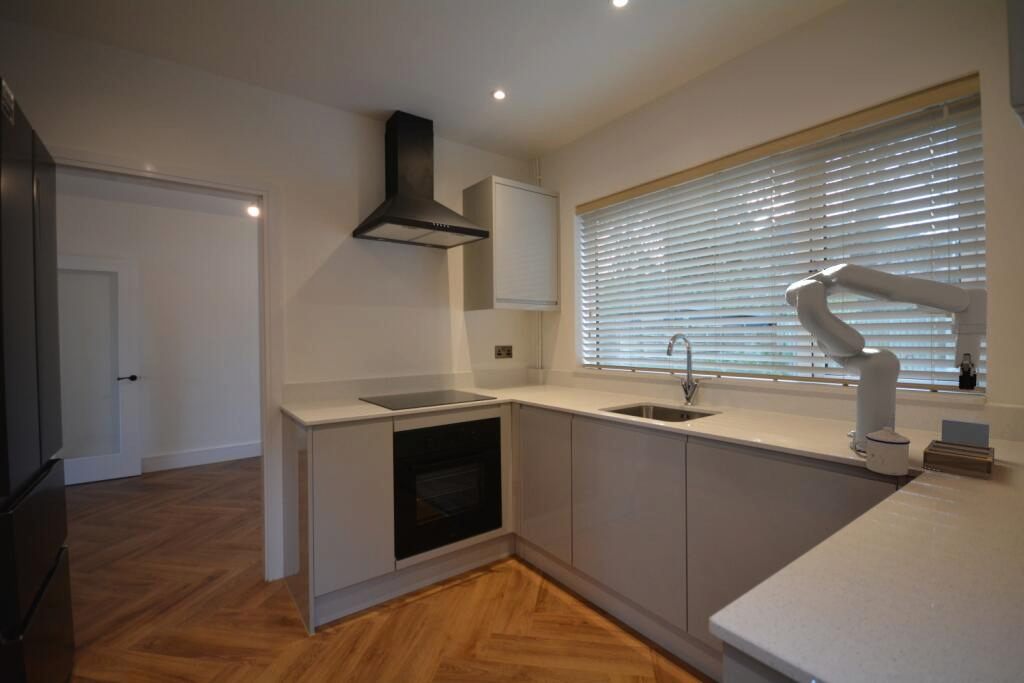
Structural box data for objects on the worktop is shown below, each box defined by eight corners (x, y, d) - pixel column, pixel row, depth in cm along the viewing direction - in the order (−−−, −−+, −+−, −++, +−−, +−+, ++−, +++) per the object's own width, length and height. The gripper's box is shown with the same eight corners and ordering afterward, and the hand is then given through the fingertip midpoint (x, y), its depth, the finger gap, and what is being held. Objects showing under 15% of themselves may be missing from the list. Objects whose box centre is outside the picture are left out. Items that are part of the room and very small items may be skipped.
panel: (987, 459, 134) (989, 424, 134) (941, 452, 142) (942, 419, 142) (988, 457, 136) (989, 423, 136) (942, 450, 143) (942, 418, 143)
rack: (990, 479, 116) (991, 460, 116) (923, 468, 125) (923, 450, 125) (994, 463, 130) (994, 446, 129) (932, 454, 139) (932, 438, 139)
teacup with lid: (910, 470, 123) (911, 427, 123) (907, 478, 117) (909, 432, 117) (855, 461, 132) (856, 420, 131) (849, 468, 125) (850, 425, 125)
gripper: (954, 330, 146) (953, 384, 147) (948, 330, 135) (947, 389, 135) (988, 330, 141) (987, 386, 141) (985, 330, 129) (984, 392, 130)
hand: (967, 387), depth 138 cm, fingers open, 9 cm apart
